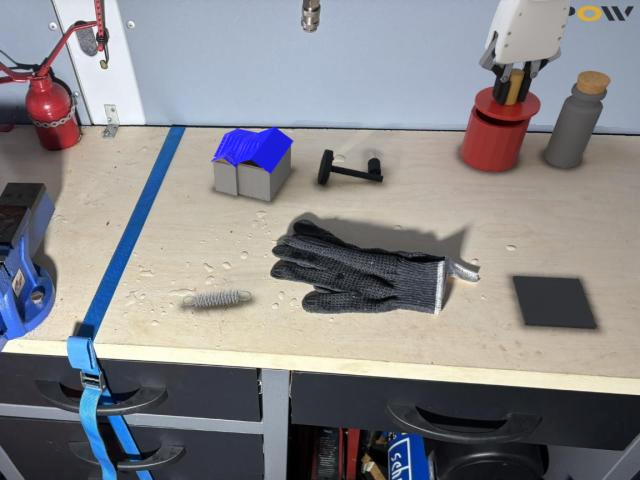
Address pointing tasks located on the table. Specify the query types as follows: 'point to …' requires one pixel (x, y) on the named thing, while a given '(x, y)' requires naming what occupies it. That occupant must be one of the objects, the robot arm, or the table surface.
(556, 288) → the mat
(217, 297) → the spring
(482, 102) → the tin lid
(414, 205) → the table surface
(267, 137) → the house
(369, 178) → the light fixture
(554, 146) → the bottle
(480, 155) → the tin
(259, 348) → the table surface
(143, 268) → the table surface
